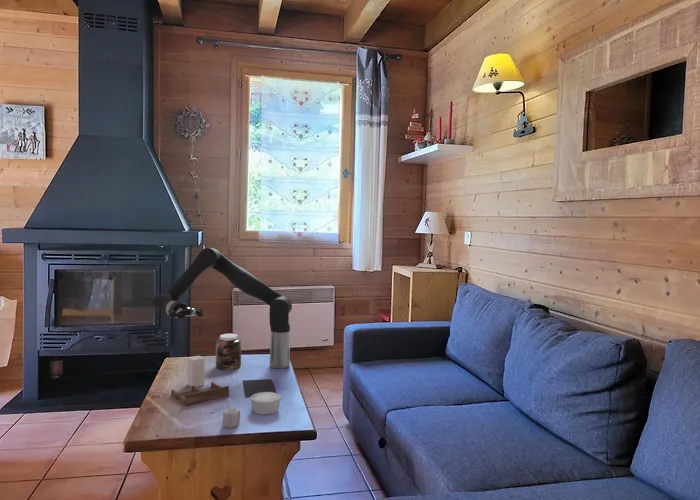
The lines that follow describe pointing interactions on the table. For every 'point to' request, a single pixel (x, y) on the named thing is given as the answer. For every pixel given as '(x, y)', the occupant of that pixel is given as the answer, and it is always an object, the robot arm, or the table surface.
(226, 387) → the lane rack
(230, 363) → the jar
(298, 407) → the table surface
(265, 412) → the ramekin
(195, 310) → the robot arm
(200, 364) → the cream block
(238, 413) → the die
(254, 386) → the notebook
